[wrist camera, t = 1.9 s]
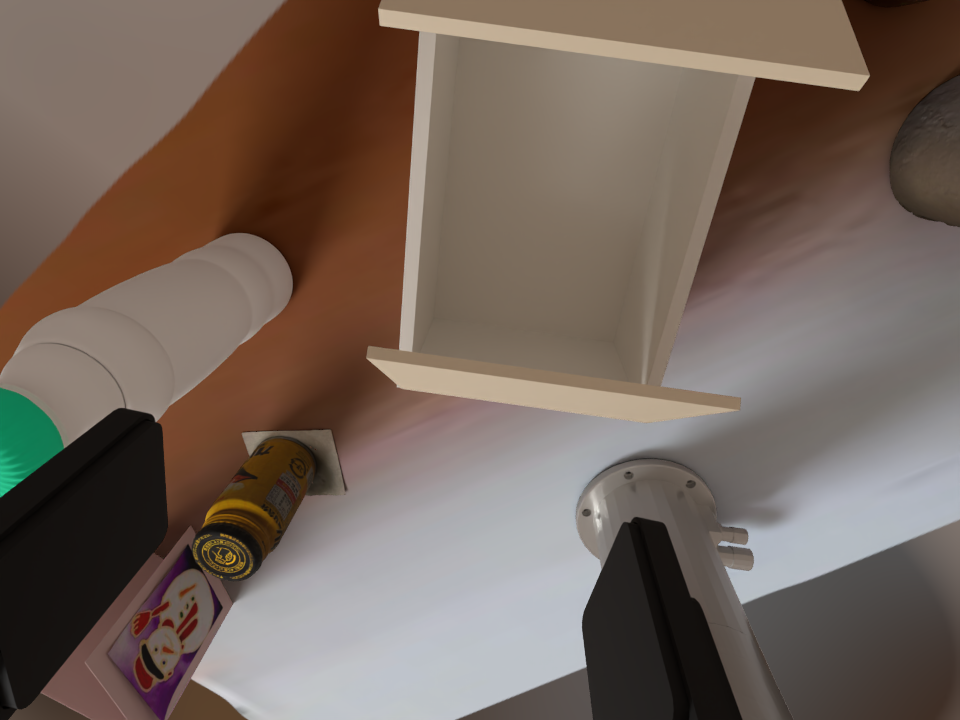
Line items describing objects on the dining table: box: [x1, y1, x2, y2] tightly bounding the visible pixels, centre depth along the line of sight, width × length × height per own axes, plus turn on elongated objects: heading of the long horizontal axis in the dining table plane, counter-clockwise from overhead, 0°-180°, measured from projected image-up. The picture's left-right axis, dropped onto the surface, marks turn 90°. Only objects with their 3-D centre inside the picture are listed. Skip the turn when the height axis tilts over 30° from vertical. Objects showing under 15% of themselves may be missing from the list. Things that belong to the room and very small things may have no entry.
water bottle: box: [0, 233, 293, 497], centre depth 32 cm, size 7×7×25 cm
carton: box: [397, 31, 755, 388], centre depth 33 cm, size 16×26×11 cm, turn 173°
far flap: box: [366, 346, 741, 423], centre depth 27 cm, size 15×12×1 cm
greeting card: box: [41, 525, 233, 720], centre depth 51 cm, size 11×7×15 cm, turn 11°
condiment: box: [192, 429, 345, 581], centre depth 46 cm, size 7×8×12 cm
